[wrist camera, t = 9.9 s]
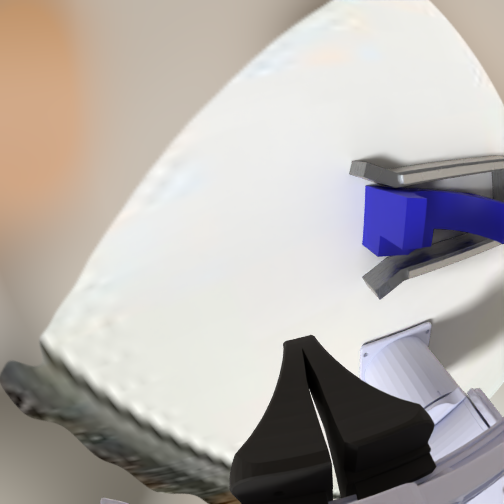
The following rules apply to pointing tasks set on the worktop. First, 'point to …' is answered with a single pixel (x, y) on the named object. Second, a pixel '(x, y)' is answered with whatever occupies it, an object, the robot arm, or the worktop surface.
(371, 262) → the worktop surface
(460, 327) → the worktop surface
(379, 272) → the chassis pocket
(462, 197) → the cable clip
